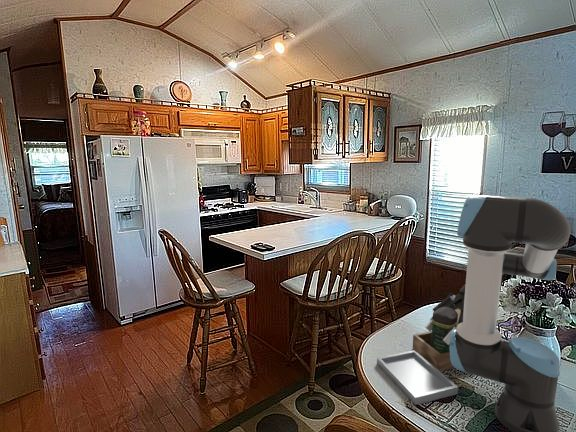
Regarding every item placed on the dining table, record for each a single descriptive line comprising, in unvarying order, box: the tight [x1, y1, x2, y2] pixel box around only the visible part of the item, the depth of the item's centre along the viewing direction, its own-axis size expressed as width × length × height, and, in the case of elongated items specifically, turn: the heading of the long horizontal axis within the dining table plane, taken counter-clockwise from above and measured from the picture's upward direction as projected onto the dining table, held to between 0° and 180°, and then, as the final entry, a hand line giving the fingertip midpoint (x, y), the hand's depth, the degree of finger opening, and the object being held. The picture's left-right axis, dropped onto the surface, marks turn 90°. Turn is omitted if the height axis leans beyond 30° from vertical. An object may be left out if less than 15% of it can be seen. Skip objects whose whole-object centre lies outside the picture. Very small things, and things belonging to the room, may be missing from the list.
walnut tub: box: [412, 330, 456, 372], centre depth 132 cm, size 15×15×6 cm
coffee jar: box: [430, 306, 458, 354], centre depth 131 cm, size 10×8×19 cm
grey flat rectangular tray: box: [376, 349, 459, 406], centre depth 120 cm, size 22×16×2 cm
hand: (436, 335), depth 130 cm, fingers closed on coffee jar, 9 cm apart
